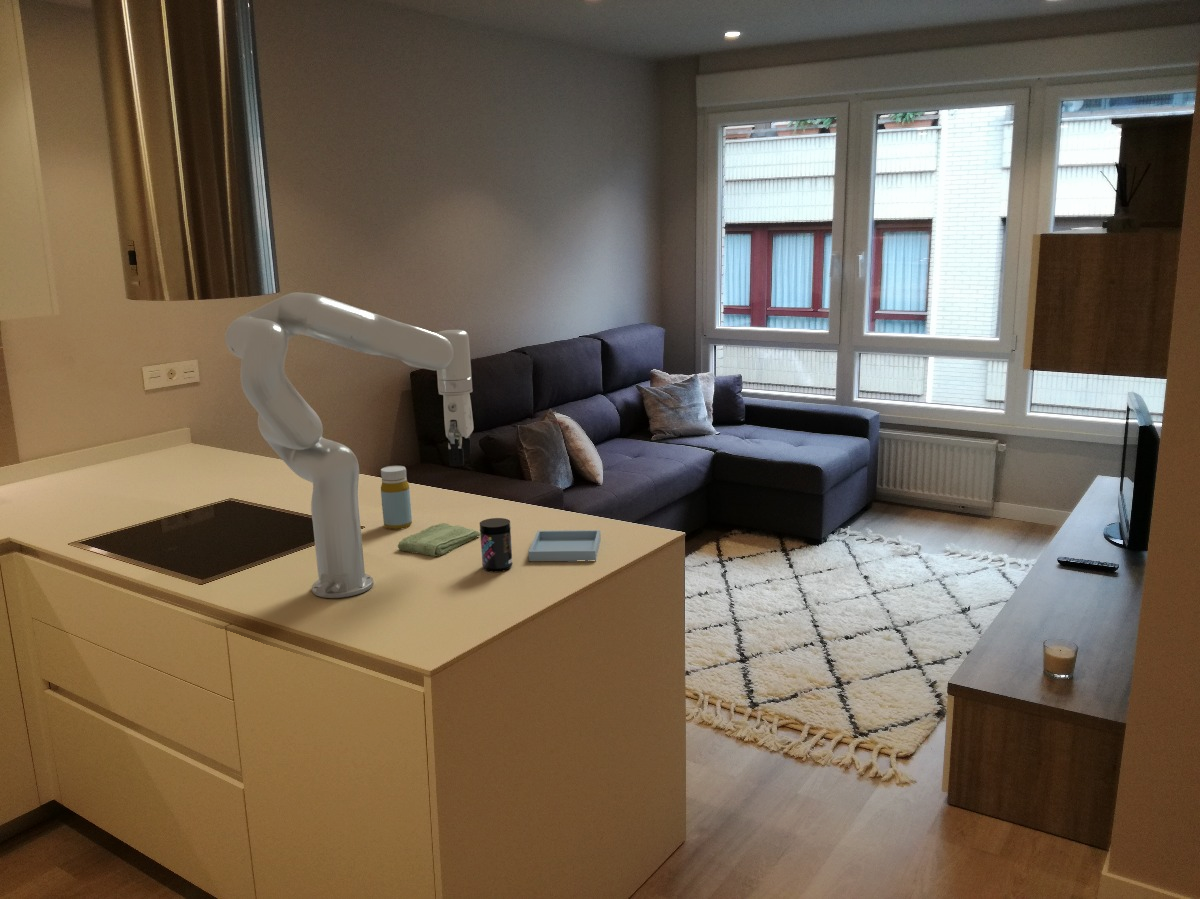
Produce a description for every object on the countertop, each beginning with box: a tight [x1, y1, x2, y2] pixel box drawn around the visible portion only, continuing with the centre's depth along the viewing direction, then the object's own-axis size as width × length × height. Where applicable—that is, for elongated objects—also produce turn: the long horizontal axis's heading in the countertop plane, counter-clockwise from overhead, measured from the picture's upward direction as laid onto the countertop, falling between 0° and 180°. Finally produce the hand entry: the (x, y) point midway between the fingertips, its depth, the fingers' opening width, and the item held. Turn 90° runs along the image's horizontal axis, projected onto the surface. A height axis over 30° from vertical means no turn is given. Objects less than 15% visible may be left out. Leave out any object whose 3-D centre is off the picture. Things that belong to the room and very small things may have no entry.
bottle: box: [380, 465, 413, 530], centre depth 250 cm, size 7×7×15 cm
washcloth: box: [397, 522, 481, 557], centre depth 236 cm, size 13×18×3 cm
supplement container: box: [479, 517, 513, 573], centre depth 218 cm, size 7×7×10 cm
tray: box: [528, 529, 602, 562], centre depth 228 cm, size 15×15×2 cm
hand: (460, 460), depth 224 cm, fingers open, 9 cm apart
